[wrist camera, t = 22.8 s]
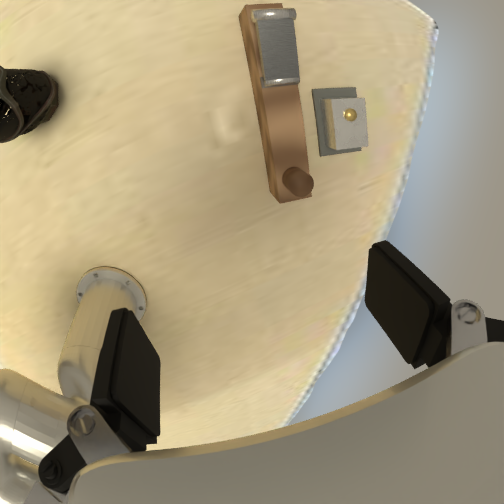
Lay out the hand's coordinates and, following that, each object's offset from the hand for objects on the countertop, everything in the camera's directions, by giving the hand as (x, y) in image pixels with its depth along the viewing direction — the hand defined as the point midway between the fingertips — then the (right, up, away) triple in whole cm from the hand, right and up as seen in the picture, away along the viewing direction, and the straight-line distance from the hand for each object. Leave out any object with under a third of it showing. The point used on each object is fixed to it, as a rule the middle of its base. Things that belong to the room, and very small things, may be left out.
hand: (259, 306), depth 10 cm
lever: (+3, +21, +17) cm, 27 cm away
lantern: (-30, +23, +16) cm, 41 cm away
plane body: (+2, +22, +23) cm, 32 cm away
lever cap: (+12, +21, +26) cm, 35 cm away
